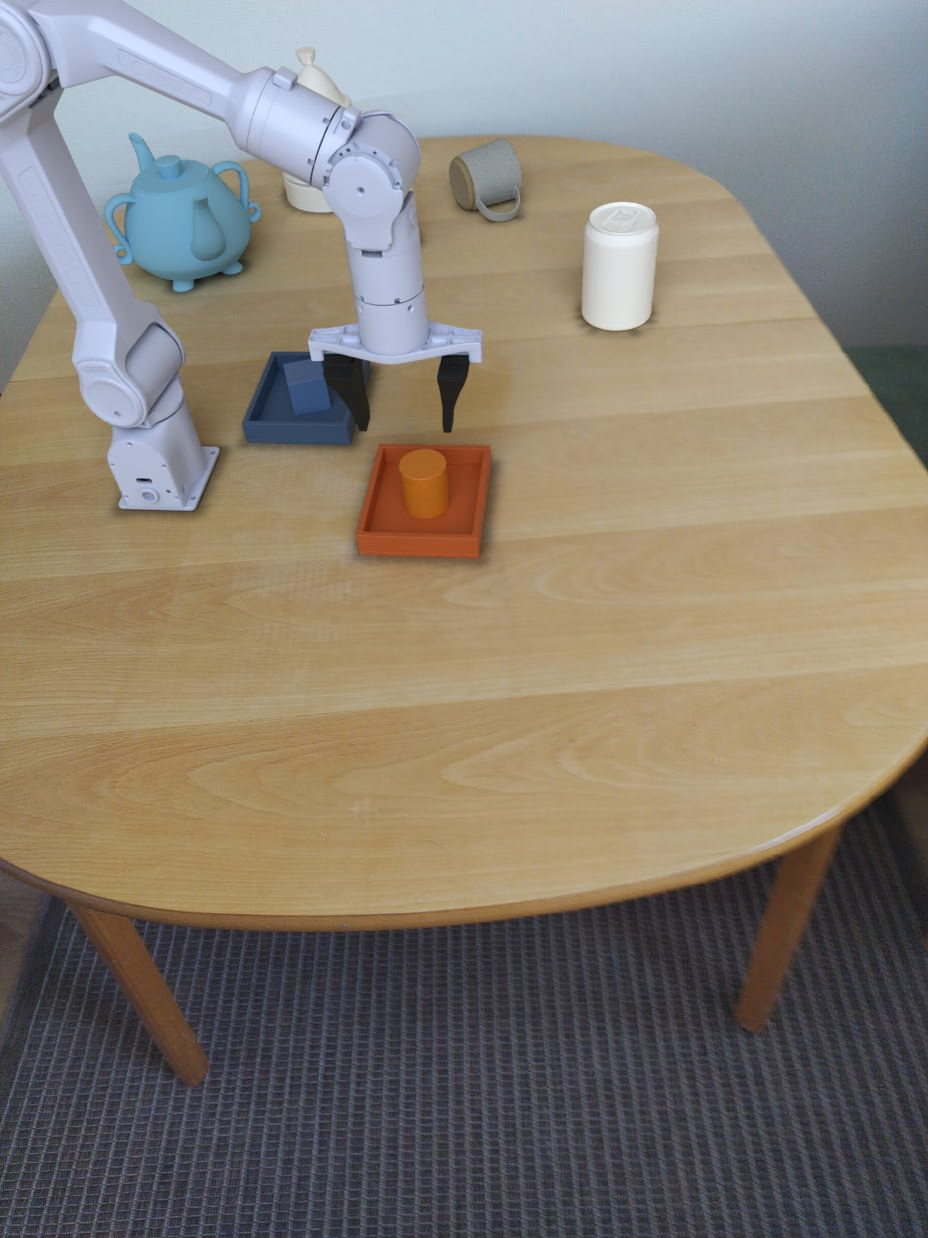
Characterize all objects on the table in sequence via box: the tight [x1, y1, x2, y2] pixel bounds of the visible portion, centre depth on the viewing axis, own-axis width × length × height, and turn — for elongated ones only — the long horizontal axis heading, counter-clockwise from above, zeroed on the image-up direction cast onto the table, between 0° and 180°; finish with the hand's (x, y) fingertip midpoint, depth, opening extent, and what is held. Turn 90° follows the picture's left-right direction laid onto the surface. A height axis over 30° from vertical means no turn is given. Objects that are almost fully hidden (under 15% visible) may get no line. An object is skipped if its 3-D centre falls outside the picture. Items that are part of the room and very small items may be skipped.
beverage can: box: [581, 201, 660, 332], centre depth 107 cm, size 8×8×12 cm
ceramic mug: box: [448, 137, 524, 223], centre depth 128 cm, size 11×8×8 cm
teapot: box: [103, 131, 263, 293], centre depth 120 cm, size 16×20×14 cm
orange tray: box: [355, 443, 492, 559], centre depth 90 cm, size 13×11×2 cm
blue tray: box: [241, 350, 372, 446], centre depth 103 cm, size 13×11×2 cm
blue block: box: [283, 359, 331, 416], centre depth 102 cm, size 4×4×4 cm
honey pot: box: [281, 46, 353, 213], centre depth 131 cm, size 13×13×18 cm
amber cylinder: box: [399, 449, 450, 519], centre depth 89 cm, size 4×4×5 cm
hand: (406, 425), depth 85 cm, fingers open, 7 cm apart
